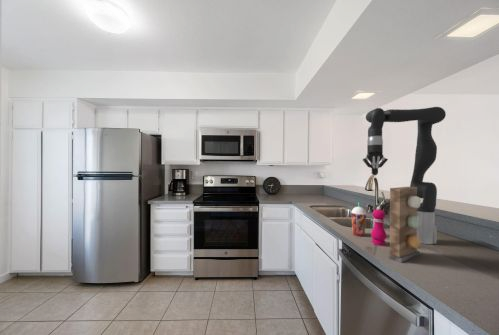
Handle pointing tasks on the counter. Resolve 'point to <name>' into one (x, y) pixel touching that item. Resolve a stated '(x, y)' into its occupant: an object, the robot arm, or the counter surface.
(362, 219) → the smoothie
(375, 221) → the pepper mill
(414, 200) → the cream button
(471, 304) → the counter surface
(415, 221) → the sage button
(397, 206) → the walnut button panel
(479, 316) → the counter surface
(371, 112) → the robot arm
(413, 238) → the orange button
